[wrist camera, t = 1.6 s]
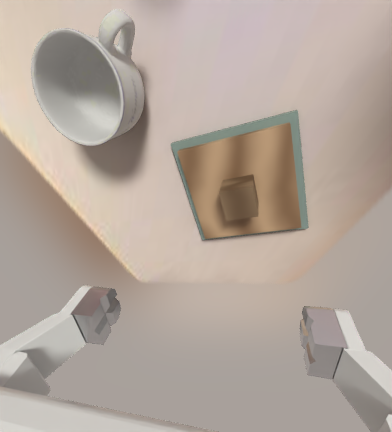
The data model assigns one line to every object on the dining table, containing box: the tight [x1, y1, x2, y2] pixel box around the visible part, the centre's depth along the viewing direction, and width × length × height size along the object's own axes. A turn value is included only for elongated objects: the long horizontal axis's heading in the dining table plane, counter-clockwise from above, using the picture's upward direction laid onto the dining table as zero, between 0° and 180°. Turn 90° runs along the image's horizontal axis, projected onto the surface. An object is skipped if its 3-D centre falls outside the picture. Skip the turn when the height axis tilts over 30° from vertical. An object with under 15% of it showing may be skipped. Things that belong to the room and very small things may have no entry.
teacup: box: [31, 9, 145, 146], centre depth 27 cm, size 14×11×8 cm
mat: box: [171, 110, 308, 240], centre depth 34 cm, size 16×16×1 cm
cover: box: [177, 122, 302, 239], centre depth 31 cm, size 14×14×5 cm
